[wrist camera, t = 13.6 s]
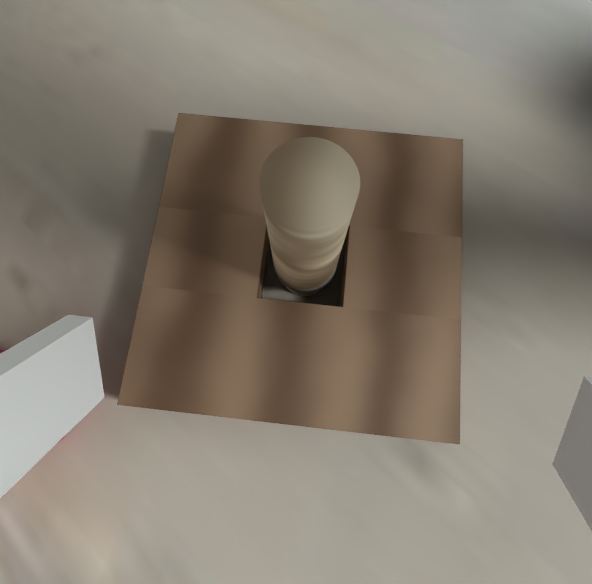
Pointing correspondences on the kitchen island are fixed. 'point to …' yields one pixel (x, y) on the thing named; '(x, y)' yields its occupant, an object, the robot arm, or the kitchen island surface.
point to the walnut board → (294, 315)
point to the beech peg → (308, 210)
